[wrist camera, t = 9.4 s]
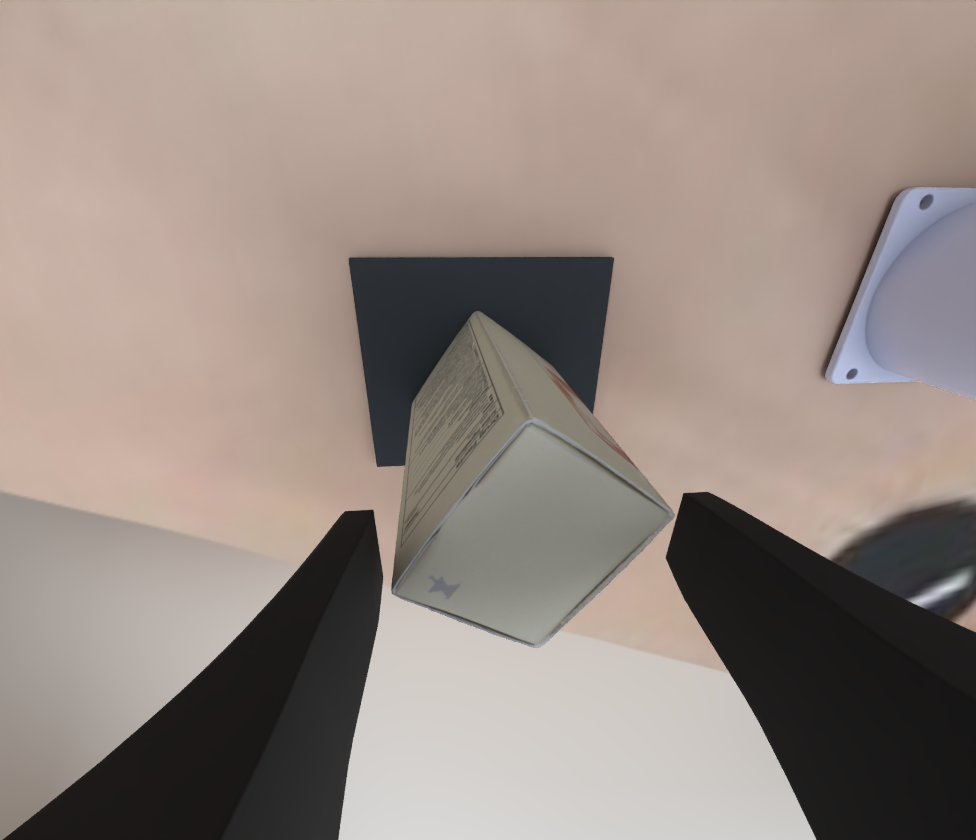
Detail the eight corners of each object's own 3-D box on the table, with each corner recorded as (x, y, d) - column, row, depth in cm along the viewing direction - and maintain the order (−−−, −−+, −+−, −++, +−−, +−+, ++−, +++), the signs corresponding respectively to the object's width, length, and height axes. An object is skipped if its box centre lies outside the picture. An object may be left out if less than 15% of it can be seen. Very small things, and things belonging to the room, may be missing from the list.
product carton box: (489, 450, 19) (532, 660, 10) (408, 403, 18) (374, 598, 9) (562, 363, 17) (689, 519, 8) (479, 302, 16) (528, 414, 7)
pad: (611, 257, 16) (614, 257, 16) (585, 453, 20) (587, 456, 20) (349, 257, 15) (348, 258, 15) (377, 463, 19) (376, 466, 19)
